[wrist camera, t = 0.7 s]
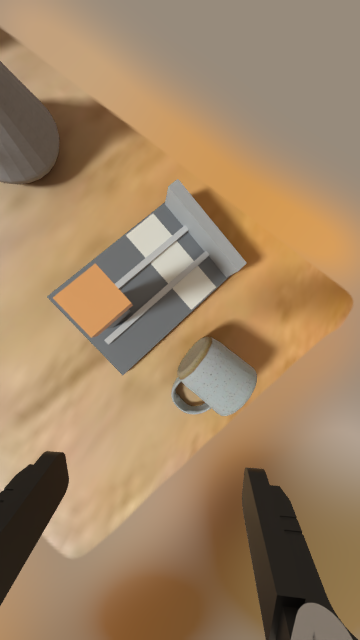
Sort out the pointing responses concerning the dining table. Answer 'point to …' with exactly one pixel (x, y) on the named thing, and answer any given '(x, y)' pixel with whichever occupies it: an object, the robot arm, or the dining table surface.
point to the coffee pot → (24, 133)
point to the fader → (94, 302)
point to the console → (160, 275)
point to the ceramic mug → (214, 378)
